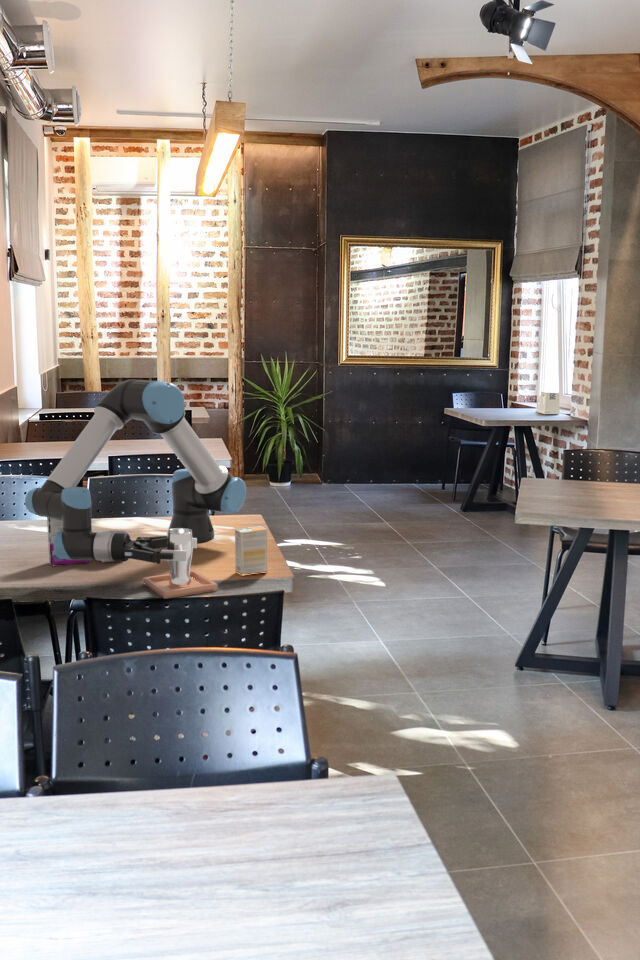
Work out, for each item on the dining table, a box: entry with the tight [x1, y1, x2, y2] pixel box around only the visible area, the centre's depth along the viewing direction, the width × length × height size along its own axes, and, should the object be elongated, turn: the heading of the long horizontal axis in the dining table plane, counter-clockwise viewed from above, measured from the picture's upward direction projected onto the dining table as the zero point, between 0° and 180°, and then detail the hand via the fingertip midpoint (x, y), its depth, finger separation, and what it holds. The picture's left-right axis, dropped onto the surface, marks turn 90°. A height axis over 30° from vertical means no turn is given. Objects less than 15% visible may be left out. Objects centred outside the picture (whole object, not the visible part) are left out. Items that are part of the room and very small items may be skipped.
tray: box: [143, 569, 218, 600], centre depth 243 cm, size 15×15×2 cm
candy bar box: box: [46, 517, 90, 567], centre depth 263 cm, size 11×5×16 cm, turn 114°
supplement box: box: [234, 525, 268, 575], centre depth 256 cm, size 8×5×13 cm, turn 117°
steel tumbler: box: [166, 528, 194, 588], centre depth 241 cm, size 7×7×15 cm
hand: (191, 549), depth 241 cm, fingers open, 13 cm apart
